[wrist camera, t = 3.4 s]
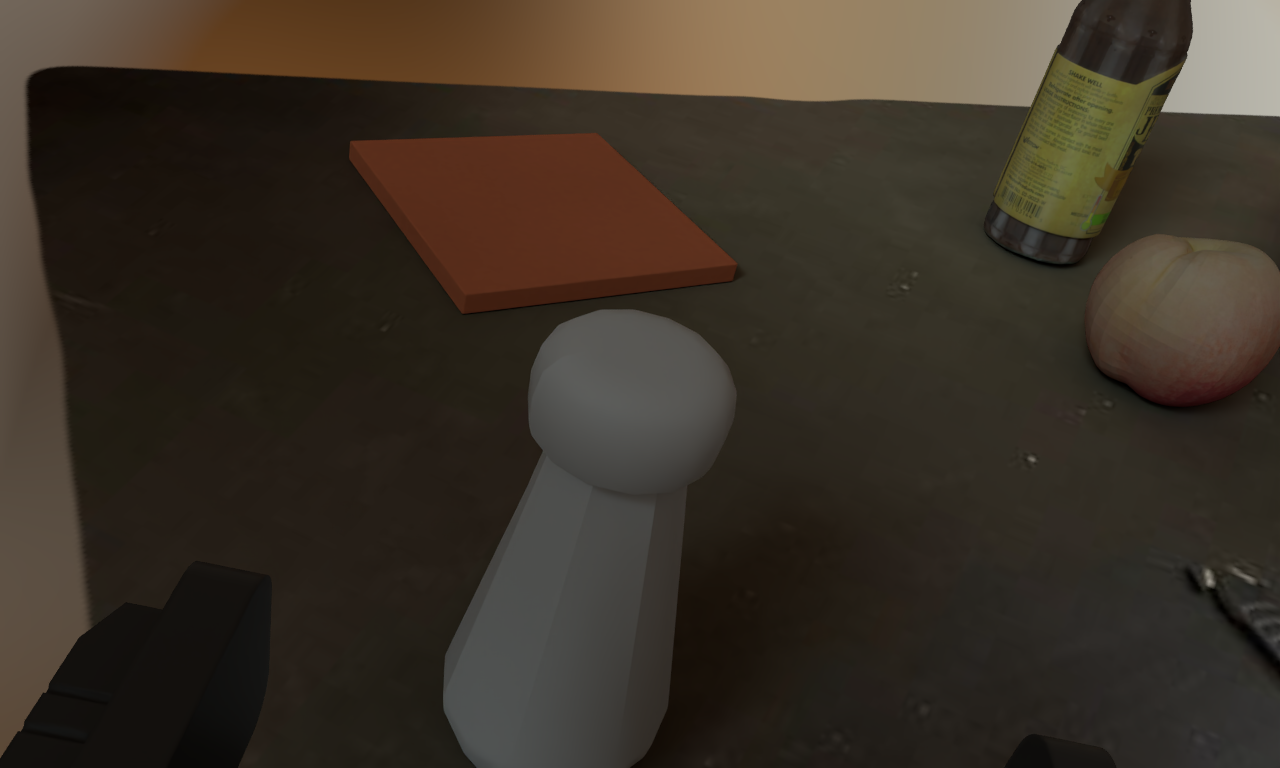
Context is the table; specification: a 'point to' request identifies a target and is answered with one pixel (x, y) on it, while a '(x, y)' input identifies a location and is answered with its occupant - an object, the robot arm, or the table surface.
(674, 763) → the table surface
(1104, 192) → the sauce bottle
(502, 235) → the mat
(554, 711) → the salt shaker
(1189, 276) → the fruit
